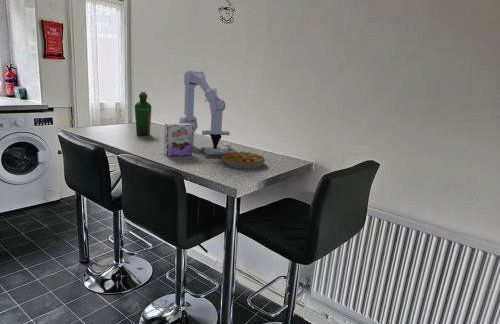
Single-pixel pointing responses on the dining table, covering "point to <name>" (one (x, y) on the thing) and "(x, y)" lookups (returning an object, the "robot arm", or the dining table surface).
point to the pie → (243, 160)
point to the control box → (214, 152)
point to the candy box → (178, 139)
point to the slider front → (224, 149)
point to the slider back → (227, 145)
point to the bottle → (143, 115)
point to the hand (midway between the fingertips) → (215, 148)
